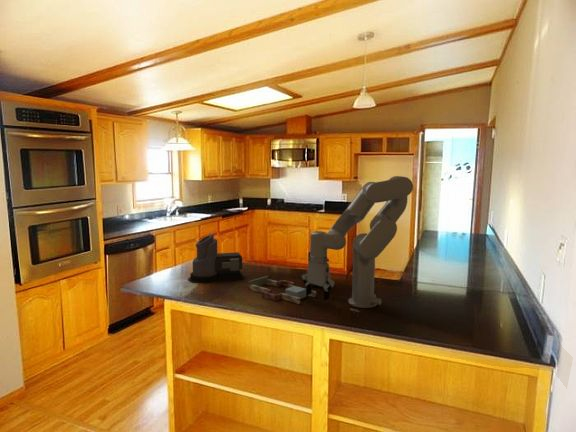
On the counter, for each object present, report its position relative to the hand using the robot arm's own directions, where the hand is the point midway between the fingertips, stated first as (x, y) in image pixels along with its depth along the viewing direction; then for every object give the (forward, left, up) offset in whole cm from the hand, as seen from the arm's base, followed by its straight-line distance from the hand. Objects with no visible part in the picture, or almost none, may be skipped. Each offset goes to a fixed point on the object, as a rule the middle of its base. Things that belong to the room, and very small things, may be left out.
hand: (317, 296), depth 172 cm
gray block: (+13, 0, -3) cm, 13 cm away
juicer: (+64, +4, -3) cm, 65 cm away
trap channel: (+21, 0, -3) cm, 21 cm away
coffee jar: (+17, -22, -3) cm, 28 cm away
